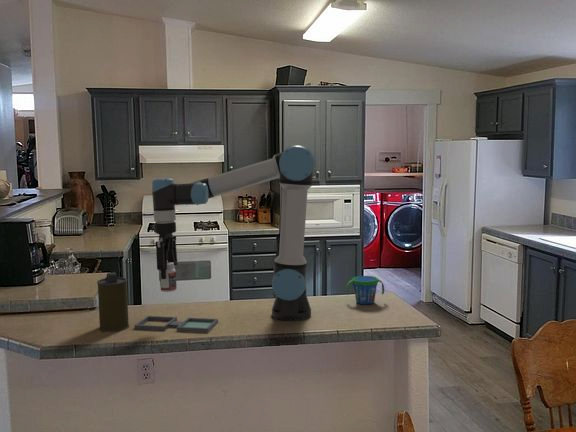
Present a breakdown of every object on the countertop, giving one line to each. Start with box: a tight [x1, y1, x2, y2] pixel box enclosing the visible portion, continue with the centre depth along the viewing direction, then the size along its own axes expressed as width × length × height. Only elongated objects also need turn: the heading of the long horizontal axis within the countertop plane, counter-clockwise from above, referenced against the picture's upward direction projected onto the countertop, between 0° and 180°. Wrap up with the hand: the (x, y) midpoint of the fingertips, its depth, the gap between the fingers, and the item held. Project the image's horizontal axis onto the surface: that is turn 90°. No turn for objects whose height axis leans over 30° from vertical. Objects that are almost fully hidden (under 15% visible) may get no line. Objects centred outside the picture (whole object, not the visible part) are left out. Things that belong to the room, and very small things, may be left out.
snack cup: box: [345, 275, 385, 305], centre depth 237 cm, size 16×10×10 cm
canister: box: [96, 272, 130, 333], centre depth 208 cm, size 11×10×20 cm
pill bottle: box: [159, 261, 178, 293], centre depth 208 cm, size 6×6×10 cm
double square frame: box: [133, 315, 219, 333], centre depth 210 cm, size 28×12×1 cm, turn 80°
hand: (168, 285), depth 209 cm, fingers closed on pill bottle, 6 cm apart
